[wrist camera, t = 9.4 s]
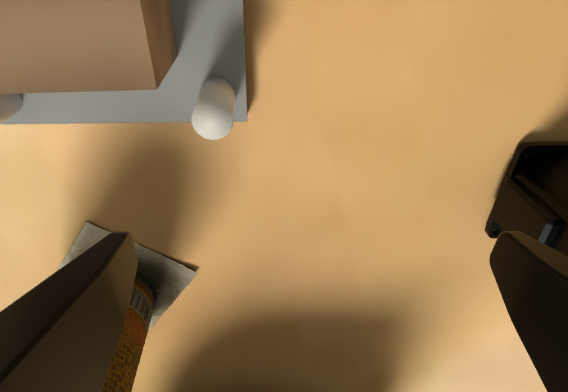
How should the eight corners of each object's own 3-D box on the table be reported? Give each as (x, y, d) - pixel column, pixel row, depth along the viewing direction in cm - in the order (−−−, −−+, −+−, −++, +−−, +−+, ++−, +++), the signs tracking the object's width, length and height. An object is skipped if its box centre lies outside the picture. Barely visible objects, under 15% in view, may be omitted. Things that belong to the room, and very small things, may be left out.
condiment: (38, 303, 26) (-95, 532, 16) (87, 219, 22) (-44, 446, 12) (140, 338, 29) (81, 552, 19) (198, 269, 25) (163, 487, 15)
